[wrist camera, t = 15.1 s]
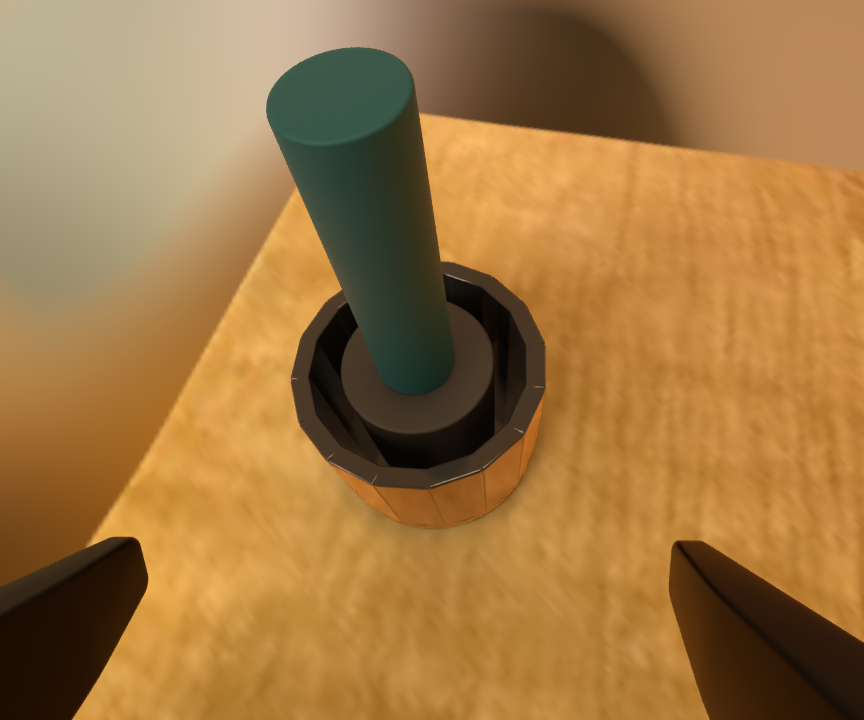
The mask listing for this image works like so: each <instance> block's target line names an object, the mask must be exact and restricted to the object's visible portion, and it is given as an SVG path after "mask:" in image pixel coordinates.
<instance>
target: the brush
mask: <svg viewBox="0 0 864 720" xmlns="http://www.w3.org/2000/svg"><path fill="white" fill-rule="evenodd" d="M266 113H267V118H268V121H269V124H270V126H271V129H272V131H273V133H274V135H275V138H276V140H277V142H278V144H279V147H280V149H281V151H282V153H283V156H284V158H285V160H286V163H287V165H288V167H289V169H290V172H291V174H292V176H293V179H294V181H295V183H296V185H297V188H298V190H299V192H300V195H301V197H302V199H303V201H304V204H305V206H306V208H307V210H308V213H309V215H310V217H311V220H312V222H313V224H314V226H315V229H316V231H317V233H318V235H319V238H320V240H321V242H322V245H323V247H324V249H325V251H326V254H327V256H328V258H329V260H330V263H331V265H332V267H333V270H334V272H335V274H336V276H337V279H338V281H339V283H340V286H341V288H342V290H343V292H344V295H345V297H346V299H347V301H348V304H349V306H350V308H351V311H352V313H353V315H354V317H355V320H356V322H357V324H358V326H359V327H358V328H357V329H356V330H355V332H354V333H353V334H352V336H351V338H350V340H349V341H348V343H347V346H346V348H345V351H344V354H343V358H342V364H341V380H342V386H343V389H344V392H345V395H346V397H347V399H348V401H349V403H350V404H351V406H352V408H353V409H354V411H355V413H356V414H357V416H358V417H359V419H360V421H361V422H362V424H363V425H364V427H365V429H366V430H367V432H368V434H369V435H370V437H371V438H372V440H373V442H374V443H375V445H376V447H377V448H378V450H379V451H380V453H381V455H382V456H383V458H384V459H385V460H386V462H387V463H388V464H389V465H390V466H391V467H407V468H423V469H428V468H431V467H434V466H437V465H440V464H443V463H446V462H449V461H452V460H455V459H457V458H460V457H463V456H466V455H469V454H472V453H473V452H475V451H476V450H477V449H478V448H479V447H480V446H481V445H483V444H484V443H485V442H486V441H487V440H488V439H490V438H491V437H492V436H493V435H494V430H495V386H494V353H493V347H492V344H491V341H490V338H489V337H488V335H487V333H486V331H485V329H484V328H483V327H482V325H481V324H480V323H479V322H478V321H477V320H476V319H475V317H473V316H472V315H471V314H470V313H468V312H467V311H466V310H464V309H462V308H461V307H459V306H457V305H455V304H452V303H450V302H447V301H446V294H445V287H444V280H443V274H442V267H441V260H440V253H439V247H438V240H437V233H436V226H435V219H434V213H433V206H432V199H431V192H430V186H429V179H428V172H427V165H426V159H425V152H424V145H423V138H422V132H421V125H420V118H419V111H418V104H417V98H416V91H415V85H414V79H413V77H412V74H411V72H410V71H409V69H408V67H407V66H406V65H405V64H404V63H403V62H402V61H401V60H400V59H398V58H397V57H395V56H394V55H391V54H389V53H387V52H384V51H381V50H377V49H372V48H360V47H357V48H356V47H355V48H342V49H336V50H331V51H327V52H324V53H321V54H318V55H315V56H313V57H310V58H308V59H306V60H304V61H302V62H300V63H298V64H297V65H295V66H294V67H292V68H291V69H289V70H288V71H287V72H286V73H285V74H283V75H282V76H281V77H280V78H279V80H278V81H277V82H276V83H275V85H274V86H273V88H272V89H271V91H270V93H269V96H268V99H267V106H266Z"/></svg>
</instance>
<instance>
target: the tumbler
mask: <svg viewBox="0 0 864 720" xmlns="http://www.w3.org/2000/svg"><path fill="white" fill-rule="evenodd" d="M441 267H442V274H443V280H444V287H445V294H446V301H447V302H450V303H452V304H455V305H457V306H459V307H461V308H462V309H464V310H466V311H467V312H468V313H470V314H471V315H472V316H473V317H475V319H476V320H477V321H478V322H479V323H480V324H481V325H482V327H483V328H484V329H485V331H486V333H487V335H488V337H489V338H490V341H491V344H492V347H493V353H494V386H495V430H494V435H493V436H492V437H491V438H490V439H488V440H487V441H486V442H485V443H484V444H483V445H481V446H480V447H479V448H478V449H477V450H476V451H475V452H473V453H472V454H469V455H466V456H463V457H460V458H457V459H455V460H452V461H449V462H446V463H443V464H440V465H437V466H434V467H431V468H428V469H423V468H407V467H391V466H390V465H389V464H388V463H387V462H386V460H385V459H384V458H383V456H382V455H381V453H380V451H379V450H378V448H377V447H376V445H375V443H374V442H373V440H372V438H371V437H370V435H369V434H368V432H367V430H366V429H365V427H364V425H363V424H362V422H361V421H360V419H359V417H358V416H357V414H356V413H355V411H354V409H353V408H352V406H351V404H350V403H349V401H348V399H347V397H346V395H345V392H344V389H343V386H342V380H341V364H342V358H343V354H344V351H345V348H346V346H347V343H348V341H349V340H350V338H351V336H352V334H353V333H354V332H355V330H356V329H357V328H358V327H359V326H358V324H357V322H356V320H355V317H354V315H353V313H352V311H351V308H350V306H349V304H348V301H347V299H346V297H345V295H344V292H343V290H341V291H340V292H338V293H337V294H335V295H334V296H333V297H331V298H330V299H328V302H325V304H324V305H323V306H322V308H321V309H320V311H319V312H318V313H317V315H316V316H315V318H314V319H313V320H312V322H311V323H310V325H309V326H308V327H307V329H306V330H305V332H304V333H303V334H302V338H301V339H300V343H299V347H298V351H297V355H296V359H295V363H294V367H293V371H292V375H291V386H292V392H293V397H294V402H295V408H296V413H297V418H298V423H299V424H300V427H301V428H302V429H303V431H304V432H305V433H306V435H307V436H308V437H309V439H310V440H311V441H312V443H313V444H314V445H315V447H316V448H317V449H318V451H319V452H320V453H321V455H322V456H323V457H324V459H325V460H326V461H327V462H328V463H329V464H330V466H331V467H332V468H333V469H334V470H335V471H336V472H337V473H338V474H339V475H340V476H341V477H342V478H343V479H344V480H345V481H346V482H347V483H348V485H349V486H350V487H351V488H352V489H353V490H354V491H355V492H356V493H357V494H358V495H359V496H360V497H361V498H362V499H363V500H364V501H365V502H366V503H367V504H368V505H370V506H372V507H373V508H375V509H376V510H377V511H379V512H380V513H382V514H383V515H385V516H387V517H388V518H391V519H393V520H395V521H397V522H399V523H403V524H406V525H410V526H413V527H420V528H447V527H454V526H458V525H462V524H466V523H468V522H471V521H473V520H476V519H478V518H480V517H482V516H484V515H485V514H487V513H489V512H490V511H492V510H493V509H494V508H496V507H497V506H498V505H500V504H501V503H502V502H503V501H504V500H505V499H506V498H507V497H508V496H509V495H510V494H511V493H512V491H513V490H514V489H515V487H516V486H517V485H518V483H519V482H520V480H521V478H522V476H523V474H524V473H525V471H526V468H527V465H528V463H529V460H530V456H531V454H532V452H533V450H534V446H535V441H536V436H537V431H538V426H539V420H540V415H541V410H542V405H543V400H544V394H545V389H546V357H545V342H544V340H543V338H542V336H541V334H540V332H539V330H538V328H537V326H536V324H535V322H534V320H533V317H532V315H531V313H530V311H529V309H528V307H527V305H525V303H524V302H523V301H522V300H520V299H519V298H518V297H517V296H516V295H514V294H513V293H512V292H511V291H510V290H508V289H507V288H506V287H505V286H504V285H503V284H501V283H500V282H499V281H498V280H497V279H495V278H494V277H492V276H491V275H488V274H485V273H482V272H480V271H477V270H474V269H471V268H468V267H465V266H462V265H459V264H456V263H454V262H451V263H450V262H441Z"/></svg>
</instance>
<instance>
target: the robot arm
mask: <svg viewBox="0 0 864 720" xmlns="http://www.w3.org/2000/svg"><path fill="white" fill-rule="evenodd" d="M147 586H148V573H147V569H146V565H145V561H144V557H143V553H142V549H141V545H140V543H139V541H138V540H137V539H136V538H134V537H111V538H108V539H106V540H103V541H101V542H99V543H97V544H94V545H92V546H90V547H88V548H86V549H83V550H81V551H79V552H77V553H74V554H72V555H70V556H68V557H65V558H63V559H61V560H59V561H57V562H54V563H52V564H50V565H47V566H45V567H43V568H41V569H38V570H36V571H34V572H32V573H29V574H27V575H25V576H23V577H21V578H18V579H16V580H14V581H12V582H9V583H7V584H5V585H3V586H0V720H72V719H73V717H74V716H75V714H76V713H77V711H78V710H79V708H80V707H81V705H82V704H83V702H84V700H85V699H86V697H87V696H88V694H89V693H90V691H91V690H92V688H93V686H94V685H95V683H96V681H97V680H98V678H99V677H100V675H101V673H102V671H103V669H104V668H105V666H106V664H107V662H108V661H109V659H110V657H111V655H112V653H113V651H114V649H115V648H116V646H117V644H118V642H119V640H120V638H121V636H122V635H123V633H124V631H125V629H126V627H127V625H128V623H129V622H130V620H131V618H132V616H133V614H134V612H135V610H136V609H137V607H138V605H139V603H140V601H141V599H142V597H143V596H144V594H145V592H146V589H147ZM669 594H670V599H671V603H672V606H673V609H674V612H675V616H676V619H677V622H678V625H679V628H680V632H681V635H682V638H683V641H684V645H685V648H686V651H687V654H688V657H689V661H690V664H691V667H692V670H693V674H694V677H695V680H696V683H697V686H698V689H699V692H700V695H701V698H702V701H703V703H704V706H705V708H706V711H707V713H708V716H709V718H710V720H864V643H863V642H862V641H860V640H859V639H857V638H855V637H854V636H852V635H851V634H849V633H848V632H846V631H844V630H843V629H841V628H840V627H838V626H836V625H835V624H833V623H832V622H830V621H828V620H827V619H825V618H824V617H822V616H821V615H819V614H817V613H816V612H814V611H813V610H811V609H809V608H808V607H806V606H805V605H803V604H802V603H800V602H798V601H797V600H795V599H794V598H792V597H790V596H789V595H787V594H786V593H784V592H783V591H781V590H779V589H778V588H776V587H775V586H773V585H771V584H770V583H768V582H767V581H765V580H764V579H762V578H760V577H759V576H757V575H756V574H754V573H752V572H751V571H749V570H748V569H746V568H744V567H743V566H741V565H740V564H738V563H737V562H735V561H733V560H732V559H730V558H729V557H727V556H725V555H724V554H722V553H721V552H719V551H718V550H716V549H714V548H713V547H711V546H710V545H708V544H706V543H705V542H703V541H681V540H678V541H676V542H675V543H674V544H673V546H672V551H671V563H670V576H669Z"/></svg>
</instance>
